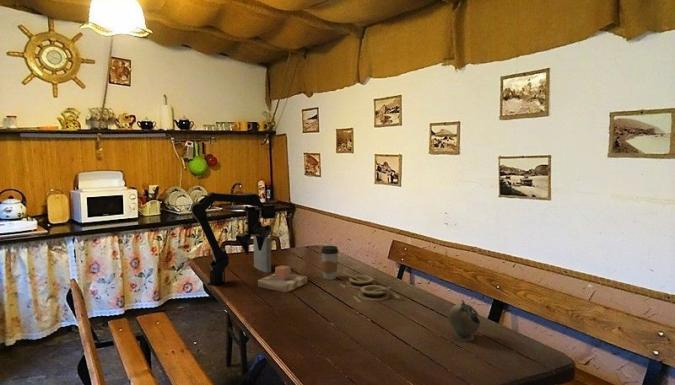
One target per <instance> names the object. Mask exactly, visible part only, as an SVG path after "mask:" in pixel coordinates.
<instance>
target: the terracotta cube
mask: <svg viewBox="0 0 675 385" xmlns="http://www.w3.org/2000/svg"><path fill="white" fill-rule="evenodd" d="M274 270H275V271H274V274H275V278H276V279H281V280H285V279H288V278H290V277H291V274H292V273H291V272H292V271H291V270H292V269H291V266H287V265H283V264H281V265H278V266H276V267H274Z"/></svg>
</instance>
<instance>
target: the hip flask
mask: <svg viewBox="0 0 675 385" xmlns="http://www.w3.org/2000/svg"><path fill="white" fill-rule="evenodd" d="M271 241H272V237H271V236H268V237H267V238H266V239H265V240H264V243H263V246H262V249H261V251H260V250H259V249H258V244H257V239H256V236H254V237H253V267H254V268H255V269H257V270H259V271H261V272H264V273H272V244H271V243H272V242H271Z"/></svg>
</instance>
